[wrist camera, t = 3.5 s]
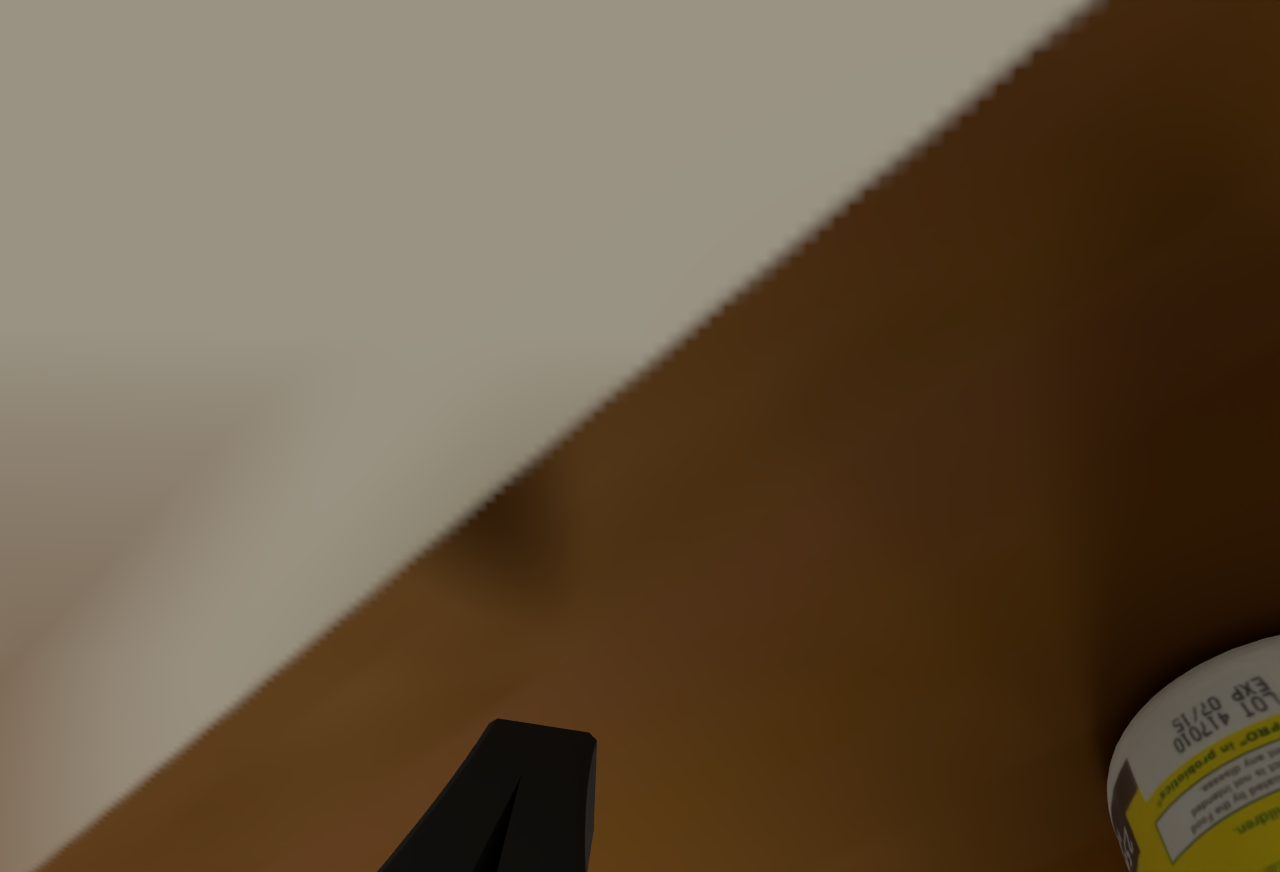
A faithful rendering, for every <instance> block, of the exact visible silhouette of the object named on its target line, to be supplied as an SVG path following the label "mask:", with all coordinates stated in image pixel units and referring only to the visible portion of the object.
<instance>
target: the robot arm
mask: <svg viewBox="0 0 1280 872" xmlns="http://www.w3.org/2000/svg"><path fill="white" fill-rule="evenodd" d="M596 751H597V740H596V739H595V738H594V737H593V736H592V735H591V734H590V733H588V732H581V731H575V730H569V729H562V728H556V727H549V726H543V725H536V724H530V723H524V722H517V721H511V720H504V719H498V718H497V719H496V720H494V721H492V722H491V723H489V725H488V726H487V728H486V729H485V731H484V732H483V734H482V735H481V737H480V739H479V740H478V742H477V743H476V745H475V746H474V747H473V749H472V750H471V752H470V753H469V755H468V756H467V758H466V759H465V760H464V762H463V763H462V765H461V766H460V767H459V769H458V770H457V772H456V773H455V774H454V776H453V777H452V778H451V780H450V781H449V782H448V784H447V785H446V786H445V788H444V789H443V790H442V792H441V793H440V794H439V796H438V797H437V798H436V800H435V801H434V802H433V804H432V805H431V806H430V808H429V809H428V810H427V811H426V813H425V814H424V815H423V816H422V818H421V819H420V820H419V821H418V823H417V824H416V825H415V826H414V827H413V829H412V830H411V831H410V832H409V834H408V835H407V836H406V837H405V839H404V840H403V841H402V842H401V844H400V845H399V846H398V847H397V848H396V850H395V851H394V852H393V853H392V855H391V856H390V857H389V858H388V860H387V861H386V862H385V863H384V864H383V865H382V867H381V868H380V869H379V870H378V871H377V872H587V870H588V863H589V856H590V850H591V843H592V837H593V830H594V803H595V777H596Z"/></svg>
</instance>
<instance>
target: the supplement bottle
mask: <svg viewBox="0 0 1280 872" xmlns="http://www.w3.org/2000/svg"><path fill="white" fill-rule="evenodd" d="M1107 800H1108V808H1109V813H1110V817H1111V822H1112V825H1113V828H1114V831H1115V834H1116V836H1117V839H1118V841H1119V844H1120V847H1121V850H1122V854H1123V857H1124V860H1125V863H1126V865H1127V868H1128V870H1129V872H1280V635H1277V636H1273V637H1269V638H1265V639H1261V640H1258V641H1255V642H1252V643H1249V644H1246V645H1243V646H1240V647H1237V648H1234V649H1231V650H1229V651H1227V652H1224V653H1222V654H1220V655H1218V656H1216V657H1214V658H1212V659H1210V660H1207V661H1205V662H1203V663H1201V664H1199V665H1197V666H1196V667H1194V668H1192V669H1191V670H1189V671H1188V672H1186V673H1184V674H1183V675H1181V676H1180V677H1178V678H1177V679H1175V680H1174V681H1172V682H1171V683H1169V684H1168V685H1167V686H1166V687H1164V688H1163V689H1162V690H1161V691H1159V692H1158V693H1157V694H1156V695H1154V696H1153V697H1152V698H1151V699H1150V700H1149V701H1148V702H1147V703H1146V704H1145V705H1144V706H1143V707H1142V708H1141V710H1140V711H1139V712H1138V713H1137V714H1136V715H1135V717H1134V718H1133V719H1132V720H1131V722H1130V723H1129V725H1128V726H1127V728H1126V729H1125V731H1124V732H1123V734H1122V736H1121V738H1120V740H1119V742H1118V744H1117V745H1116V747H1115V750H1114V754H1113V757H1112V760H1111V763H1110V767H1109V774H1108V780H1107Z"/></svg>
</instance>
